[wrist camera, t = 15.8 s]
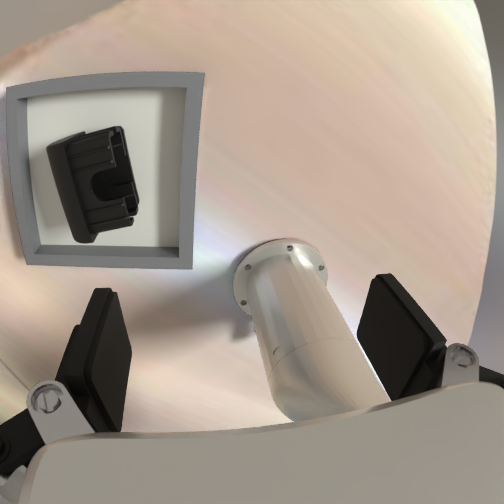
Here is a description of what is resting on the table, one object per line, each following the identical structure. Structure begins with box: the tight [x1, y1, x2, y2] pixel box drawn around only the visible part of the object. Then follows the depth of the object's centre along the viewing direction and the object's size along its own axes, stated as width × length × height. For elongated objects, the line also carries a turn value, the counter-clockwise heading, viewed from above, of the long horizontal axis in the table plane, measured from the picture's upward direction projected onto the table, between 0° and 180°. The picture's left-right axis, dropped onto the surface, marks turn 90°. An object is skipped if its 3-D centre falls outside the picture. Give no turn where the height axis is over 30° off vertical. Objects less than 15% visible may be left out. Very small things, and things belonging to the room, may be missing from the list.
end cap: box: [46, 126, 140, 244], centre depth 28 cm, size 10×7×7 cm
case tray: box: [6, 72, 205, 269], centre depth 30 cm, size 21×21×3 cm
